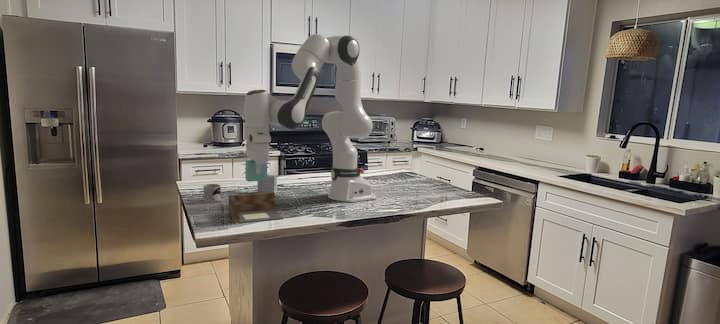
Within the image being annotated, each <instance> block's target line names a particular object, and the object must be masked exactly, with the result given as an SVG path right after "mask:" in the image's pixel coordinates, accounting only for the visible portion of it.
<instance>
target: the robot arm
mask: <svg viewBox="0 0 720 324" xmlns="http://www.w3.org/2000/svg"><path fill="white" fill-rule="evenodd" d="M359 56H360V45H359V42H358V41H357V39H356V38H355V37H354V36H351V35H333V36H327V37H325V35H323V34H320V33H314V34H311V35H310V36H309V37H308V38H307V39H306V40H305V41H304V42H303V43H302V45H300V47H299V49H298V50H297V52H296V54H295V55H294V57H293V59H292V61H291V70H292V71H293V73H294V75H295V76H296V77H297V78H298V79H299V80H300V82H299V84H298V86H297V89H296V91H295V93H294V95H293V96H292V98H290V99H288V100H285V99H278V98H276V97H275V96H273V95H271V94H270V93H269V92H268V91H267V90H266V89H253V90H250V91H247V93H246V94H245V97H244V103H243V116H244V125H243V140H244V141H246V142H245V155H246V156H247V158H249V160H250V161H252V160H253V161H254V162H255V165H256V169H255V173H256V174H261V167H262V164H267V165H268V163H269V158H270V157H269V156H270V143H271V141H272V137H271V135H270V125H271V126H277V127H282V128H286V129H289V130H295V129H297V128H300V127H301V126H302V125H303V124H304V121H305V118H306V115H307V110H308V107H309V105H310V102H311V100H312V98H313V95H314V93H315V91H316V89H317V86H318V84H319V80H320V71H321V70H322V67H323V65H324V64H334V65H335V67H336V71H335V87H334V89H335V91H334V92H335V93H334V97H335V100H336V101H337V103H338V102H339V104H340V105H341V106H342V109H343V111H339V110H338V111H337V110H335V111H331V112H327V113H325V114H324V115H323V117H322V119H321V128H322V129H323V131H324V132H325V134H327V136H328V138H329V141H330V143H331V144H330V145H331V146H332V147H331V149H332V166H331V170H330V171H331V173H330V177H331V182H330V183H331V184H330V188H329V192H328V195H327V197H328V199H330V200H333V201H339V202H346V203H347V202H348V203H358V202H363V201H365V202H366V201H369V200H376V199H377V198H378V197H377V194H375V193H374V192H373V189H372V188H373V187H372V186H371V184H370V182H369V181H367V179H365V178H364V177H363V176H361V174H365V170H364V169H363V168H359V167H358V150H357V148H356V147H355V146H354V145H353V143H352V142H351V138H352V139H364V138H365V139H366V138H367V137H369V136H370V135H371V133H372V131H373V126H374V125H373V120H372V119H371V117H370V115H368V114H367V113H366V111H365V109H364V106H363V104H362V97H361V88H362V87H361V85H362V83H361V80H362V79H361V78H362V76H361V75H362V72H361V70H362V69H361V62H360V59H359Z"/></svg>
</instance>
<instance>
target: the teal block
mask: <svg viewBox="0 0 720 324" xmlns="http://www.w3.org/2000/svg"><path fill="white" fill-rule="evenodd" d="M255 169H256V165H255V162H254V161H253V160H252V161H251V160H245V180H246V181H247V182H258V181H267V174H268V163H267V164H262V167H261V174H256V173H255Z"/></svg>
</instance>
